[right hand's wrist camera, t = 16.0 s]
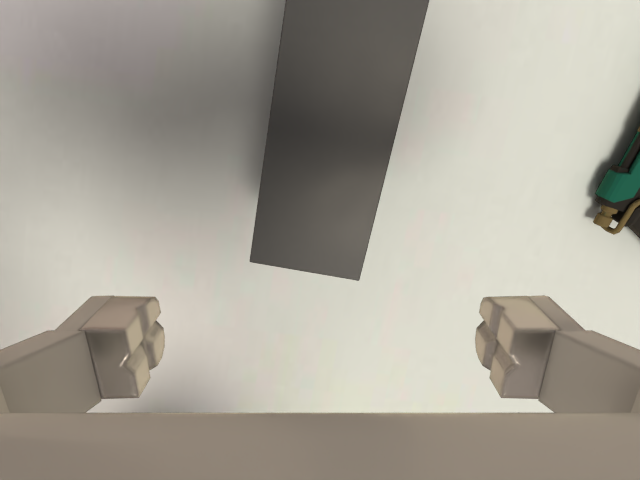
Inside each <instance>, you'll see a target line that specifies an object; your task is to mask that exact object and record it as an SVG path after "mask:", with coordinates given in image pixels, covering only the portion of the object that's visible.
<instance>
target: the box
mask: <svg viewBox="0 0 640 480" xmlns="http://www.w3.org/2000/svg"><path fill="white" fill-rule="evenodd" d="M428 3H429V0H286V4H285V11H284V19H283V26H282V33H281V40H280V47H279V55H278V62H277V69H276V76H275V83H274V90H273V98H272V105H271V112H270V119H269V126H268V133H267V141H266V148H265V155H264V162H263V169H262V177H261V184H260V191H259V198H258V205H257V212H256V220H255V227H254V234H253V241H252V248H251V255H250V262H253V263H259V264H265V265H270V266H276V267H282V268H288V269H294V270H300V271H306V272H311V273H317V274H323V275H329V276H335V277H341V278H346V279H352V280H358V281H359V279H360V275H361V271H362V267H363V263H364V259H365V255H366V251H367V247H368V243H369V239H370V235H371V231H372V227H373V223H374V219H375V215H376V211H377V207H378V203H379V199H380V195H381V191H382V187H383V183H384V179H385V175H386V171H387V167H388V163H389V159H390V155H391V151H392V147H393V143H394V139H395V135H396V131H397V127H398V123H399V119H400V115H401V111H402V107H403V103H404V99H405V95H406V91H407V87H408V83H409V79H410V75H411V71H412V67H413V63H414V59H415V55H416V51H417V47H418V43H419V39H420V35H421V31H422V27H423V23H424V19H425V15H426V11H427V7H428Z"/></svg>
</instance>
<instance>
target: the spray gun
mask: <svg viewBox="0 0 640 480" xmlns="http://www.w3.org/2000/svg"><path fill="white" fill-rule="evenodd" d="M637 131H638V132H637V133H636V135H635V137H634V139H633V141H632V142H631V144H630V146H629V148H628V149H627V151H626V153H625V155H624V157H623V158H622V160H621V162H620V164H619V165H618V166H617V165H612V167H611V169H609V170H608V171H607V173H606V175H605V177H604V179H603V180H602V182H601V184H600V186H599V188H598V189H597V191H596V193H595V194H596V195H598V197H597V198H596V201H597V202H598V203H600V204H602V206H601V209H602V210H603V211H602V212H601V213H598V214H597V216H596V217H595V219H594V221H593V222H594V223H595V224H597V225H599V226H601V227H602V228H603V229H604V230H606V231H607V232H609V233H612V234H616V233H619V232H620V231H621V230H622V228H623V227H624V226H625V227H627V226H629V227H630V228H631V229H632V230H633V231H634V233H635V234H636V235H637V236H638V237H639V238H640V127H639V128H638V130H637ZM611 216H612V217H611ZM612 220H615V221H616V222H618V225H617V227H616V228H615V229H613V228H611V227H609V225H610V223H611V222H612Z"/></svg>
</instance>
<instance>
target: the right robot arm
mask: <svg viewBox="0 0 640 480" xmlns="http://www.w3.org/2000/svg"><path fill="white" fill-rule="evenodd" d="M160 313H161V311H160V306H159V301H158V300H157V299H156V297H141V296H93V297H90V298H89V299H88V300H87V301H86V302H85V303H84V304H83V305H82V306H81V307H80V308H78V309H77V310H76V311H75V312H74V313H73V314H72V315H71V316H70V317H69V318H68V319H67V320H65V321H64V322H63V323H62V324H61V325H60V326H59V327H58V328H57V329H56V330H55V331H46V332H43V333H41V334H38V335H36V336H33V337H31V338H28V339H26V340H23V341H21V342H19V343H16V344H14V345H11V346H9V347H6V348H4V349H1V350H0V480H640V350H639V349H636V348H634V347H631V346H629V345H626V344H624V343H621V342H619V341H616V340H614V339H612V338H609V337H607V336H604V335H602V334H599V333H597V332H594V331H585V330H584V329H583V328H582V327H581V326H580V325H579V324H578V323H577V322H576V321H575V320H574V319H572V318H571V317H570V316H569V315H568V314H567V313H566V312H565V311H564V310H563V309H562V308H561V307H560V306H558V305H557V304H556V303H555V302H554V301H553V300H552V299H551V298H550V297H547V296H505V297H485V298H483V300H482V302H481V305H480V310H479V313H480V315H481V316H482V318H483V319H484V321H483V322H482V323H481V324H480V325H479V326H478V327H477V329H476V337H475V344H476V352H477V355H478V358H479V360H480V362H481V364H482V365H483V366H484V367H486V368H487V369H489V370H491V372H490V380H491V381H492V383H493V385H494V386H495V388H496V390H497V392H498V393H499V395H500V397H501V398H526V399H539V400H538V401H540V402H541V403H543V404H544V405H545V406H547V407H548V408H549V409H551V410H552V411H553V412H555V413H86V412H87V411H88V410H90V409H91V408H92V407H94V406H95V405H96V404H98V403H99V402H100V401H101V399H114V398H139V397H140V395H141V393H142V392H143V390H144V388H145V386H146V385H147V383H148V381H149V380H150V372H149V370H151V369H153V368H154V367H156V366H157V365H158V364H159V362H160V360H161V358H162V355H163V351H164V347H165V335H164V329H163V327H162V326H161V325H160V324H159V323H158V322H157V321H156V319H157V318H158V316H159V315H160Z"/></svg>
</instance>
